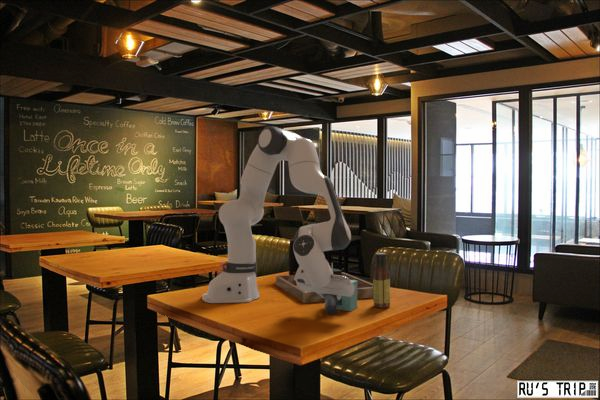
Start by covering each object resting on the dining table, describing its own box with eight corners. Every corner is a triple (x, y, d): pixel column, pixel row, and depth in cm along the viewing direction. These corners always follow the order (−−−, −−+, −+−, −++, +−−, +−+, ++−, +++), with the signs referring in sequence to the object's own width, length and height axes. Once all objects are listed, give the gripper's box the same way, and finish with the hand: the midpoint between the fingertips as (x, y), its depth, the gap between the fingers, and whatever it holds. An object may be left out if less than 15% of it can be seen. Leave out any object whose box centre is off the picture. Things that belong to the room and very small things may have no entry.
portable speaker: (298, 283, 220) (298, 240, 219) (284, 280, 227) (284, 239, 226) (311, 281, 226) (311, 239, 225) (297, 278, 233) (297, 237, 232)
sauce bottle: (388, 304, 183) (389, 252, 182) (391, 308, 176) (392, 254, 176) (371, 304, 182) (371, 252, 182) (374, 308, 176) (374, 254, 176)
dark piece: (333, 315, 166) (333, 283, 166) (322, 313, 168) (323, 282, 168) (351, 305, 180) (351, 276, 179) (341, 304, 182) (341, 275, 181)
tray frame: (304, 303, 183) (304, 292, 183) (275, 285, 216) (276, 276, 216) (381, 297, 194) (381, 287, 194) (343, 280, 228) (343, 272, 228)
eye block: (350, 311, 172) (350, 283, 171) (325, 307, 177) (325, 280, 176) (357, 307, 177) (357, 280, 177) (332, 304, 182) (332, 277, 181)
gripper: (350, 269, 157) (361, 293, 166) (296, 263, 167) (309, 286, 176) (344, 285, 153) (356, 309, 162) (289, 278, 164) (303, 301, 172)
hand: (331, 297), depth 169 cm, fingers closed on dark piece, 4 cm apart
